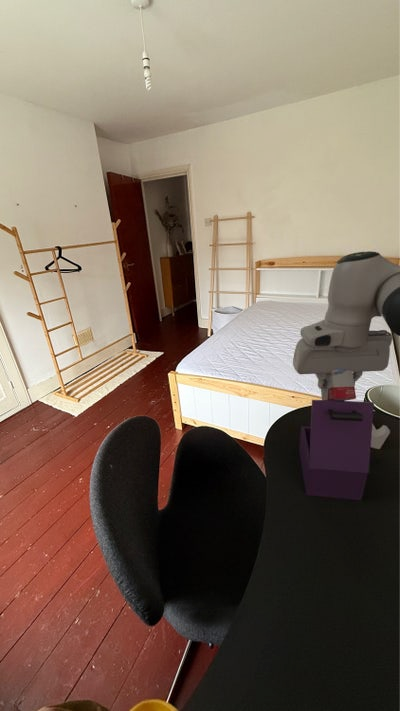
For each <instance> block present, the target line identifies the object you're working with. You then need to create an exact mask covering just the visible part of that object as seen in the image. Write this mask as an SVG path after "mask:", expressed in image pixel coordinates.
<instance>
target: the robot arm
mask: <svg viewBox="0 0 400 711" xmlns="http://www.w3.org/2000/svg"><path fill="white" fill-rule="evenodd" d="M327 292H328V293H327V303H328V304H327V310H326V312H325V314H324V319H323V320H319V321H318V322H315V323H311V324H308V325H306V326H303V327H301V329H300V333H299V334H300V337H301V338H300V339H299V340H298V341H297V343H296V345H295V349H294V353H293V358H292V366H293V369H294V370H295V372H297V374H298V375H315V377H316V378H317V388H318V389H319V390H321V389H326V388H327V387H326V386H327V382H326V380H325V379H322V378H321V377H324V373H331V371H334V370H340V369H352V372H353V379H354V386H356V382H357V381H358V380H360V378H361V377H362V376H363V373H365V372H382V371H385V370H386V369H387V368H388V367H389V363H390V356H391V355H390V354H391V345H392V342H393V335H392V333H393V334H395V335H397V336H398V337H400V265H398V264H396V263H394V262H392V261H390V260H388V259H387V258H385V257H384V256H383V255H381V253H379V252H378V251H377V252H376V251H370V250H369V251H359V252H353V253H349V254H347V255H343V256H342V257H341V258H339V259H338V260H337V261H336V263H335V265H334V267H333V269H332V273H331V276H330V281H329V286H328V291H327ZM375 317H376V318H377V317H380V318H381V317H382V319H384V321H385V324H386V325H387V327H388V329H389V330H390V331H391V332H392V333H391V332H389V331H388V330H387V329H379V330H370V329H371V323H372V319H374V318H375Z"/></svg>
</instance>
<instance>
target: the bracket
mask: <svg viewBox="0 0 400 711" xmlns="http://www.w3.org/2000/svg"><path fill="white" fill-rule="evenodd" d="M390 434H391V430H390V429H389V428H388V425H384V424H383V425H382V426H380V427H379V428H378V429H376V427H375V425H374V423H372V436H371V448H372V449H377V450H381V448H382V446H383V445H384V443H385V441H386V440H387V439H388V437H389V435H390Z"/></svg>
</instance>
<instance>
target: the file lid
mask: <svg viewBox="0 0 400 711" xmlns="http://www.w3.org/2000/svg"><path fill="white" fill-rule="evenodd" d="M374 406H375V403H374V402H373V401H358V400H357V401H355V400H346V401H334V400H322V399H311V410H310V411H311V414H310V427H311V434H310V457H309V468H312V469H324V470H336V471H348V472H360V473H367V474H369V473H370V462H371V448H372V447H371V436H372V423H373V422H374V421H373V420H374V410H375V409H374V408H375V407H374ZM373 424H374V423H373Z"/></svg>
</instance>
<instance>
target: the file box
mask: <svg viewBox="0 0 400 711" xmlns="http://www.w3.org/2000/svg"><path fill="white" fill-rule="evenodd" d="M300 427H301V428H300V437H299V445H298V446H299V447H298V451H299V458H300V465H301V470H302V476H303V484H304V491H305V495H306V496H312V497H322V498H331V499H341V500H342V499H343V500H353V501H362V500H363V496H364V491H365V487H366V483H367V478H368V473H360V472H348V471H336V470H324V469H312V468H309V457H310V434H311V426H305V425H301V426H300Z"/></svg>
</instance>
